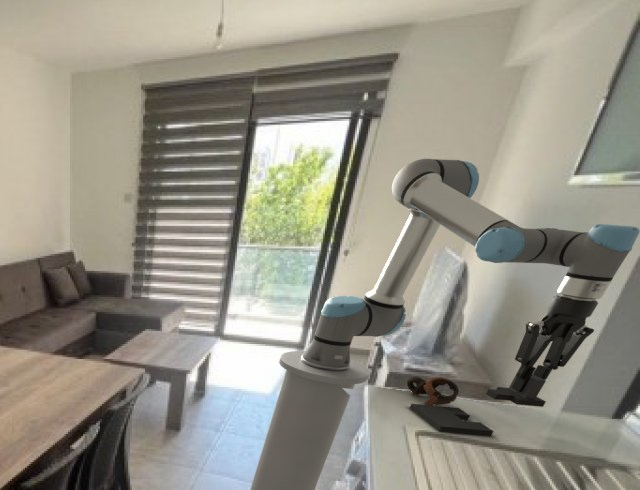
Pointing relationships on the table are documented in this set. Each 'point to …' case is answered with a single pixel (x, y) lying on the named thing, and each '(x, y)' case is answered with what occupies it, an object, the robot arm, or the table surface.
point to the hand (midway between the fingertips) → (523, 390)
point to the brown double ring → (433, 389)
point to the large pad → (450, 420)
